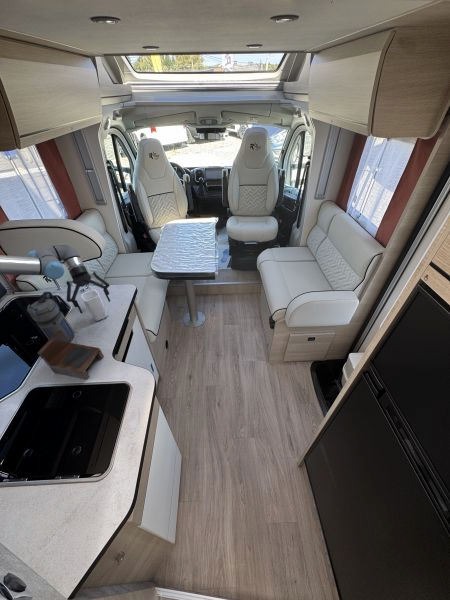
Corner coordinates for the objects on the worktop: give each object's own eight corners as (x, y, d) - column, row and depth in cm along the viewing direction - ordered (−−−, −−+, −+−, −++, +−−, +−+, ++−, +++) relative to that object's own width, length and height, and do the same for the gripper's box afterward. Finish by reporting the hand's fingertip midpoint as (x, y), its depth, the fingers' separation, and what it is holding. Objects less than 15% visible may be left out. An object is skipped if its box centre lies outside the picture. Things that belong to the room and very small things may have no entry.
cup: (91, 316, 132) (79, 294, 122) (104, 309, 135) (94, 288, 125) (96, 324, 128) (84, 302, 118) (110, 317, 131) (100, 295, 121)
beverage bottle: (81, 327, 126) (58, 288, 110) (68, 348, 116) (40, 309, 100) (61, 327, 127) (35, 288, 110) (47, 348, 117) (15, 309, 100)
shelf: (54, 373, 107) (37, 352, 98) (73, 350, 116) (58, 330, 106) (87, 379, 104) (72, 359, 95) (104, 356, 113) (92, 335, 103)
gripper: (102, 261, 134) (120, 298, 134) (50, 279, 123) (70, 318, 124) (101, 257, 127) (120, 295, 128) (46, 275, 117) (67, 317, 117)
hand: (96, 306), depth 126 cm, fingers open, 13 cm apart
